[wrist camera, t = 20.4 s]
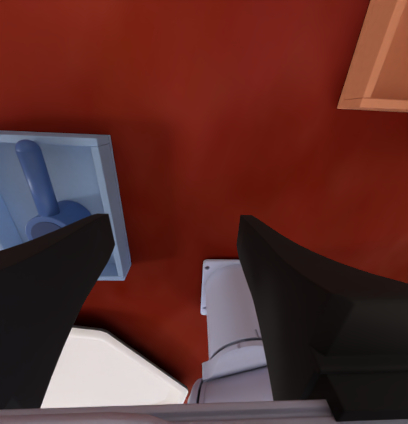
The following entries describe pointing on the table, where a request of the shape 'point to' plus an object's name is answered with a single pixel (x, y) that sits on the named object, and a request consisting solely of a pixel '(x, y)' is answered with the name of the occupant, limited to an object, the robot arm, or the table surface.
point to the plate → (107, 374)
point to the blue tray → (64, 187)
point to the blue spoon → (44, 194)
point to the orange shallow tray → (380, 61)
